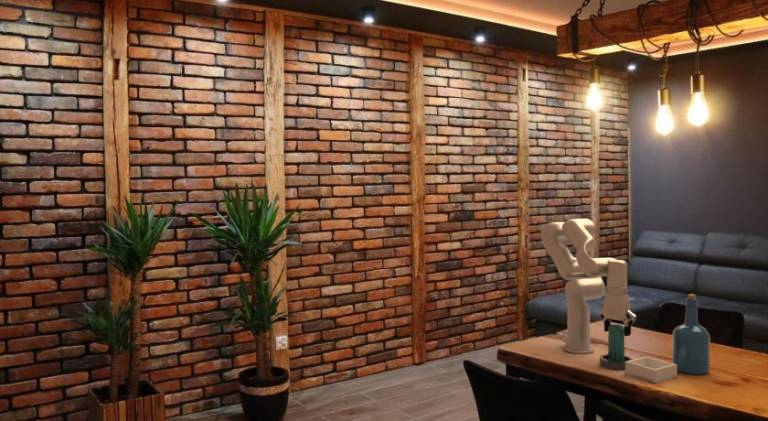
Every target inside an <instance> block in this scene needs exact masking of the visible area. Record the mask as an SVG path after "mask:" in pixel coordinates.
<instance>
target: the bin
mask: <svg viewBox="0 0 768 421" xmlns="http://www.w3.org/2000/svg"><path fill="white" fill-rule="evenodd" d="M624 371H625V375H626V376H629V377H632V378H634V379H635V378H636V379H639V380H642V381H644V382H645V381H646V382H648V383H652V384H659V383H662V382H666V381H669V380H674V379H677V377H678V371H677V364H673V363H672V362H670V361H666V360H662V359H658V358H654V357H651V356H648V355H647V356H643V357H639V358H635V359H634V358H633V360H630V361H626V362H625V370H624Z"/></svg>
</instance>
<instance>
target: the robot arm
mask: <svg viewBox="0 0 768 421" xmlns="http://www.w3.org/2000/svg"><path fill="white" fill-rule="evenodd" d="M595 233H596V225H595V224H594V222H593V221H592V220H591V219H589V218H572V219H571V218H570V219H568V220H566V221H555V222H547V223H545V224H544V225H543V226H542V228H541V231H540V240H541V243H542V245H543V247H544V249H545V251H547V253H548V254H549V255H550V257H551V260H552V261H553V263H554V265H555V267H556V269H557V271H558V273H559V275H560V276H561V277H562V279H564V280H567V282H566V283H565V287H564V292H565V297H566V304H567V305H566V307H567V311H566V312H567V317H566V318H567V322H566V323H567V324H566V325H567V328H566V329H567V331H566V332H567V334H566V336H563V338H562V339H561V342H563V343H565V344H564V346H563V350H564V351H565V352H568V353H573V354H581V355H582V354H583V355H584V354H591V353H593V352H594V349H595V348H594V346H591V310H590V307H589V304H588V303H587V302H586V301H588V300H598V299H601V298H603V297H604V299H603V307H602V308H600V309H598V312H599V314H600V317H601V319H602V322H603V331H604V333H605V332H609V329H608V327H609V326H610V325H611V324H612V322H611V319H613V320H618V321H622V323H623V324H624V325H625V326H623V327H624V337H629V336H632V326H633V324H635V322H636V320H637V317H638V316H637V315H636V314H635V313H633V312H632V311H631V304H630V296H629V295H628V262H627V261H625V260H623V259H616V258H614V257H595V258H592V257H591V256H590V255H589V252H591V251H592V250H593V249H594V247H595V245H596V240H595V238H594V237H593V236H594V235H595ZM561 241H569V242H570V243H571V244H572V246H573V247H574V248H575V249H576V254H575V256H573V254H572V253H571V251H570V249H569V248H568V246H566V245H565V244H563V243H562V242H561ZM602 277H606V278H607V279H606V281H607V282H606V284H605V282H604V280H603V278H602ZM606 291H607V292H606Z"/></svg>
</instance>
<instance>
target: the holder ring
mask: <svg viewBox="0 0 768 421" xmlns="http://www.w3.org/2000/svg"><path fill="white" fill-rule="evenodd" d="M624 356H625V357H624V362H615V361H609V360H608V353H605V354H601V355H600V356H599V363H598V364H599V366H601V367H602V368H605V369H608V370H614V371H625V362H626V361H630V360H634V358H632V357H631V356H629V355H626V354H624Z"/></svg>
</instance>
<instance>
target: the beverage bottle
mask: <svg viewBox="0 0 768 421" xmlns="http://www.w3.org/2000/svg"><path fill="white" fill-rule="evenodd" d="M610 321H611V325H610V326H609V327H608V329H609V331H607V332H608V334H607V343H608V345H607V347H608V348H607V354H608V360H609V361H615V362H624V357H625V356H626V355H625V349H626V348H625V336H624V326H623V325H622V323H623V321H618V320H613V319H610ZM624 355H625V356H624Z"/></svg>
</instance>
